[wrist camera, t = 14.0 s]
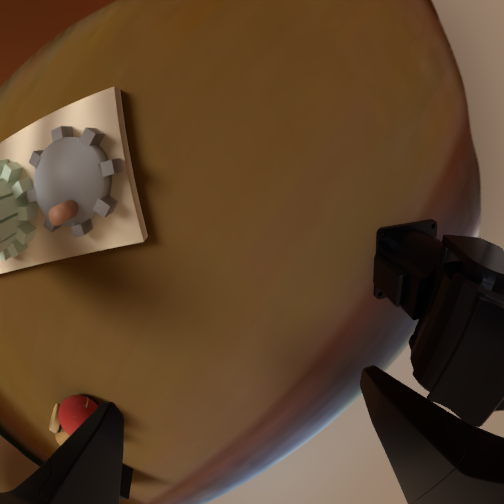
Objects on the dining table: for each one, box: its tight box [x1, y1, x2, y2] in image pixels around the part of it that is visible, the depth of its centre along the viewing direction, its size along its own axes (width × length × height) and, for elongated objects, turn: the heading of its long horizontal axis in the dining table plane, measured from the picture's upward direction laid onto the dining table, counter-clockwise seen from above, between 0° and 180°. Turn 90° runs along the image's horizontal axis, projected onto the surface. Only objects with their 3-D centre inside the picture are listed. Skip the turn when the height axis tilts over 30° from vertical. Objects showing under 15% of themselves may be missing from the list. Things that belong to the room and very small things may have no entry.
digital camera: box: [119, 464, 133, 499], centre depth 30 cm, size 10×5×7 cm, turn 121°
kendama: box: [49, 395, 98, 445], centre depth 25 cm, size 8×6×18 cm
